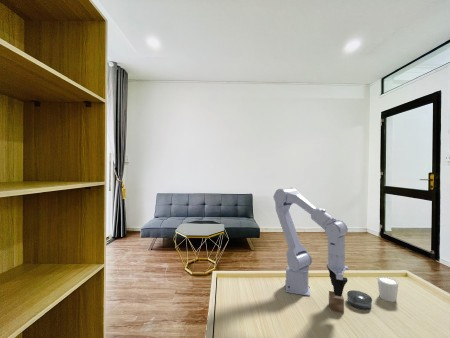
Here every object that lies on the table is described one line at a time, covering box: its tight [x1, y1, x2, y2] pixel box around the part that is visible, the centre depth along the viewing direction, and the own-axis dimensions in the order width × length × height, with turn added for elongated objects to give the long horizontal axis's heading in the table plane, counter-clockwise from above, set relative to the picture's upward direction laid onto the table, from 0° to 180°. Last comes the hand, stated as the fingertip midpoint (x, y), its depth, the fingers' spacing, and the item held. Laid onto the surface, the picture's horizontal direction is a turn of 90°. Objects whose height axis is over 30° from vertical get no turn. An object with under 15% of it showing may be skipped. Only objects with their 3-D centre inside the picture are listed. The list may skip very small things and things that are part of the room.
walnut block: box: [328, 290, 345, 314], centre depth 84 cm, size 4×4×5 cm
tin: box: [346, 290, 373, 311], centre depth 87 cm, size 8×8×3 cm
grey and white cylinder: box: [377, 276, 399, 303], centre depth 91 cm, size 7×7×7 cm
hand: (336, 290), depth 84 cm, fingers open, 7 cm apart
